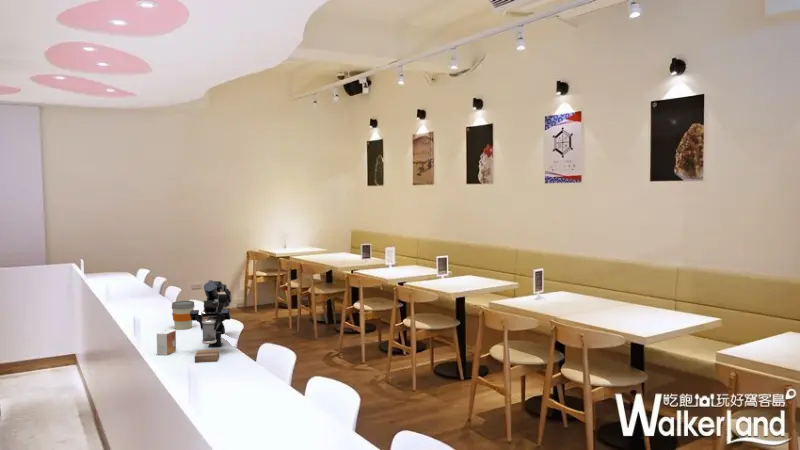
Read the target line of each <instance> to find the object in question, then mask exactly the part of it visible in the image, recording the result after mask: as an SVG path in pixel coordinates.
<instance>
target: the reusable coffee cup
mask: <svg viewBox="0 0 800 450" xmlns="http://www.w3.org/2000/svg"><path fill="white" fill-rule="evenodd" d="M171 309H172V312H171V315H172V319H173V322H174V328H175V330H176V331H177V330H178V331H181V330H182V331H184V330H190V329H192V326H193V320H191V317H190V311H191V310H195V301H193V300H179V301H177V300H176V301H174V302H172V303H171Z"/></svg>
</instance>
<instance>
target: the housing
mask: <svg viewBox="0 0 800 450" xmlns="http://www.w3.org/2000/svg"><path fill="white" fill-rule="evenodd" d="M202 319H203V318H202ZM215 323H216V319H208V318H204V319H203V320H202V324H203V329H202V340H201V341H202V342H201V343H202V344H203V345H209V344H213V343H216V330H215Z"/></svg>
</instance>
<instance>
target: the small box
mask: <svg viewBox="0 0 800 450" xmlns="http://www.w3.org/2000/svg"><path fill="white" fill-rule="evenodd" d="M176 332H177V330H176V329H175V330H172V329H166V330H163V331H160V332H157V333H156V355H157V354H160V355H162V356H168V355H170V354H172V353H175V352H177V336H176V335H177V333H176Z"/></svg>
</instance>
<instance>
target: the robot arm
mask: <svg viewBox="0 0 800 450" xmlns="http://www.w3.org/2000/svg"><path fill="white" fill-rule="evenodd" d="M203 290H204V293H205V296H206V300H204V301H203V311H204V312H202V311H200V310H199V309H194V310H191V311H190V317H191V320H192V322H193V321H194V322H195V321H196V322H197V323H199V325H200V330H201V331H203V324H202V320H203V317H204V318H205V317H206V318H207V319H216V323H215V330H216V343H213V344H208V345H207V346H208V348H216V347H217V348H218V347H219V348H220V347H222V346H223V342H222V335H225V334H226V328H225V324H224V322H225V321H226V320H228V321H229V320H231V315H232V314H231V310H230V309H227V307H230V305H231V303H232V292H231V291H230V290H229V288H228V286H227V284H225V283H224V284H223V282H222V281H220V280H219V281H218V280H217V281H216V280H212V279H211V280H210V279H209V280H208V281H207V282H206V283H204V284H203ZM223 292H224V293H223Z"/></svg>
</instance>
